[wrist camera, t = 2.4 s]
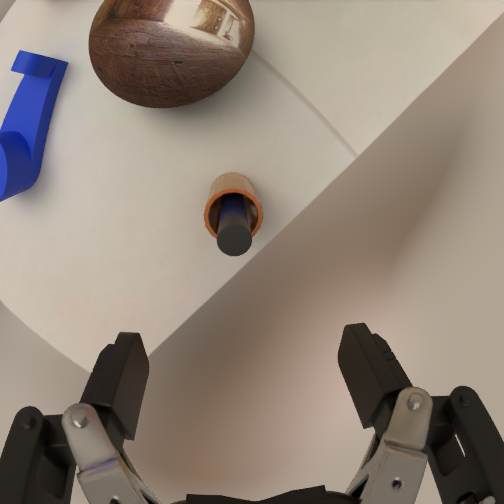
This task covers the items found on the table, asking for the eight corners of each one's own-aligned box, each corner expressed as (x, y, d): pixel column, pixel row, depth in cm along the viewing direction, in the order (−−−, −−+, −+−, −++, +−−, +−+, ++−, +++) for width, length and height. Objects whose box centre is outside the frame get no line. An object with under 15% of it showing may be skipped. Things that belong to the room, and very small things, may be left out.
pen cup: (202, 187, 33) (192, 208, 24) (240, 164, 32) (243, 177, 24) (225, 222, 35) (224, 253, 26) (262, 201, 34) (272, 226, 26)
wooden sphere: (246, 111, 29) (260, 97, 16) (120, 117, 28) (49, 118, 14) (251, 1, 23) (266, -68, 9) (128, 10, 22) (76, -40, 8)
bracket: (33, 199, 31) (1, 217, 24) (-3, 178, 28) (-35, 191, 21) (79, 66, 24) (47, 56, 17) (37, 54, 22) (4, 47, 15)
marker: (217, 191, 32) (209, 235, 20) (236, 180, 32) (240, 217, 19) (228, 208, 33) (228, 262, 21) (247, 198, 33) (258, 245, 20)
